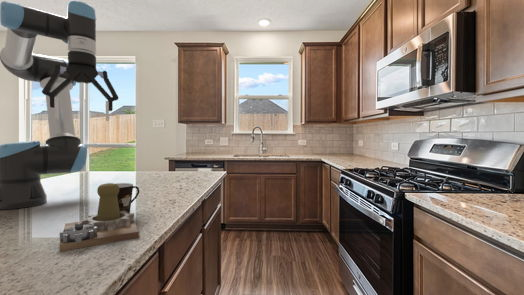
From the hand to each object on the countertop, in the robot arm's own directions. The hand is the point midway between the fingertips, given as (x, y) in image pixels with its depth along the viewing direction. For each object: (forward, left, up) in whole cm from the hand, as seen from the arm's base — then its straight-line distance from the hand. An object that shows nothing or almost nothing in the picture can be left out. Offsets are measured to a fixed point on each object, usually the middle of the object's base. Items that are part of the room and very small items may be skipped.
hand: (83, 119), depth 86 cm
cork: (+22, +6, -29) cm, 37 cm away
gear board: (+24, +4, -31) cm, 39 cm away
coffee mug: (+10, +11, -31) cm, 34 cm away
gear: (+29, -1, -29) cm, 41 cm away
